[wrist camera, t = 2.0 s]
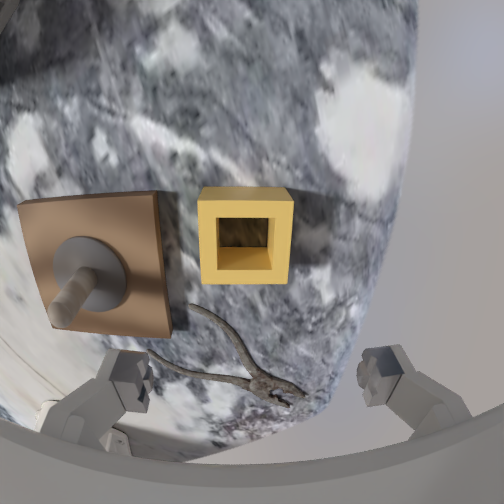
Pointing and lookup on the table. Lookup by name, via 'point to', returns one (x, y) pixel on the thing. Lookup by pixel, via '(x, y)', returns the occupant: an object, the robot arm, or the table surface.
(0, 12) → the alarm clock
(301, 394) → the pliers
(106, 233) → the post stand
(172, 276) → the table surface
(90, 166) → the table surface
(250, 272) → the block with square hole
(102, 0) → the table surface
